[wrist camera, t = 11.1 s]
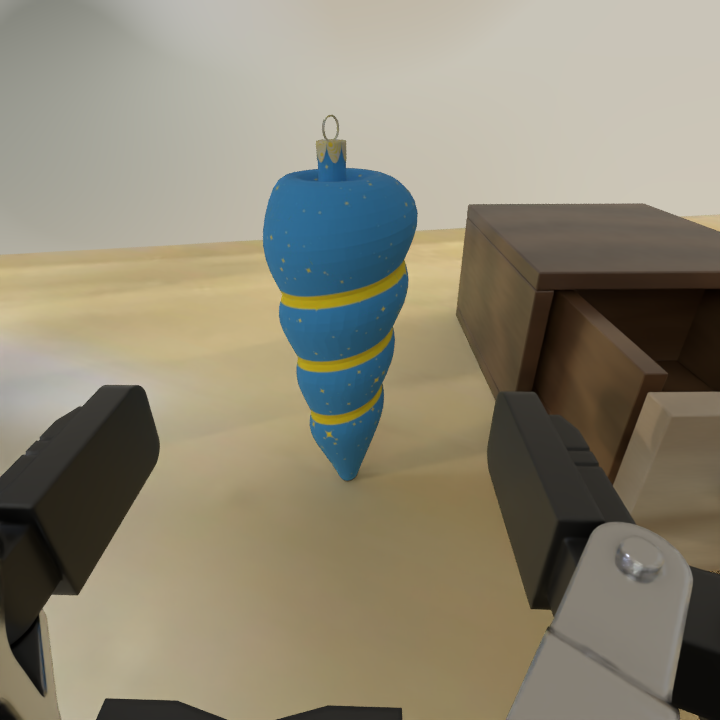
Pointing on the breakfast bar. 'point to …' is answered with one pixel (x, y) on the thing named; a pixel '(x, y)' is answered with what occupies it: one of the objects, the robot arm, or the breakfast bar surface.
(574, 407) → the drawer
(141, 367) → the breakfast bar surface
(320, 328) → the ornament
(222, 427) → the breakfast bar surface
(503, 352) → the cabinet
